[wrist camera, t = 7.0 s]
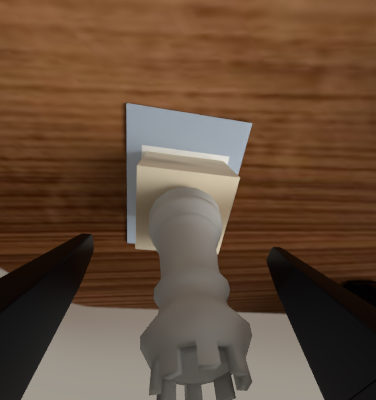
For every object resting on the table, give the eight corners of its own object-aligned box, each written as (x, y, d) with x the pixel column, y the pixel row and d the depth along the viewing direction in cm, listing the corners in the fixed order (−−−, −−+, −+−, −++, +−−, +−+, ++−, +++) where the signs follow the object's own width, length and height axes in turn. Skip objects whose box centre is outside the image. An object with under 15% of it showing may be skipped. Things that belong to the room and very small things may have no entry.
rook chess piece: (171, 252, 13) (167, 431, 6) (135, 204, 11) (59, 382, 4) (228, 226, 12) (307, 393, 5) (200, 170, 10) (263, 309, 3)
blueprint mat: (216, 247, 18) (217, 249, 18) (127, 241, 17) (127, 243, 17) (251, 123, 13) (252, 123, 13) (127, 103, 12) (126, 102, 12)
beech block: (208, 223, 17) (218, 254, 13) (144, 218, 16) (135, 249, 12) (223, 161, 14) (240, 177, 11) (146, 151, 13) (136, 165, 10)
